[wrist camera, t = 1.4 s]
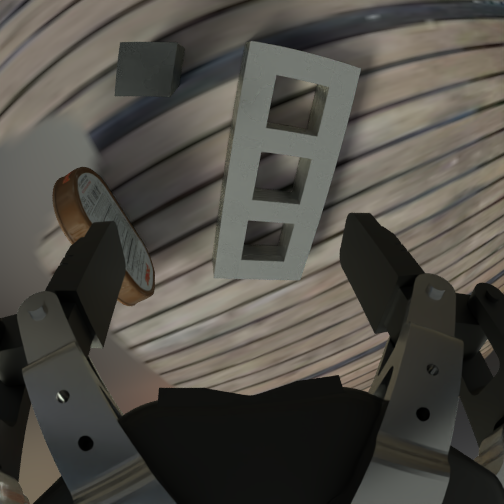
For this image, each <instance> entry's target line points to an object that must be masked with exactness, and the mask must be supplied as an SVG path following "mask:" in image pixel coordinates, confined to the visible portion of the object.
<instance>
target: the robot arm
mask: <svg viewBox="0 0 504 504" xmlns="http://www.w3.org/2000/svg"><path fill="white" fill-rule="evenodd" d="M340 263H341V266H342V269H343V270H344V272H345V274H346V276H347V278H348V280H349V282H350V284H351V286H352V288H353V290H354V292H355V294H356V296H357V298H358V300H359V302H360V304H361V306H362V308H363V310H364V312H365V314H366V316H367V318H368V321H369V323H370V325H371V327H372V329H373V331H374V333H375V334H377V333H383V332H388V333H389V335H390V336H389V338H388V340H387V343H386V345H385V349H384V352H383V355H382V358H381V361H380V363H379V366H378V369H377V372H376V375H375V377H374V380H373V383H372V385H371V387H370V389H369V391H368V392H365V391H362V390H358V389H353V388H348V387H342V384H341V381H340V378H339V375H336V376H329V377H323V378H316V379H309V380H301V381H296V382H293V383H290V384H287V385H284V386H281V387H278V388H275V389H272V390H269V391H266V392H263V393H260V394H257V395H251V396H249V395H242V394H235V393H229V392H223V391H218V390H213V389H207V388H159V395H158V400H157V401H154V402H150V403H147V404H144V405H141V406H139V407H137V408H135V409H133V410H131V411H130V412H128V413H126V414H125V415H123V413H122V412H121V410H119V408H118V406H117V404H116V403H115V401H114V400H113V398H112V396H111V395H110V393H109V391H108V390H107V388H106V386H105V385H104V383H103V381H102V380H101V378H100V376H99V374H98V372H97V370H96V368H95V367H94V365H93V363H92V361H91V359H90V358H89V356H88V355H89V351H90V348H103V347H104V343H105V339H106V336H107V332H108V329H109V325H110V322H111V318H112V315H113V311H114V308H115V305H116V302H117V298H118V295H119V292H120V289H121V286H122V283H123V280H124V277H125V271H126V263H125V257H124V253H123V249H122V245H121V241H120V237H119V233H118V228H117V225H116V223H115V222H114V221H103V222H94V223H93V224H92V225H91V227H90V228H89V230H88V231H87V233H86V235H85V236H84V237H81V238H79V239H78V240H77V241H76V242H75V243H74V244H72V245H71V246H70V248H69V250H68V251H67V253H66V255H65V257H64V258H63V260H62V261H61V263H60V266H58V268H57V270H56V272H55V273H54V275H53V277H52V279H51V281H50V282H49V284H48V286H47V288H46V290H45V291H42V292H38V293H35V294H33V295H31V296H30V297H28V298H27V299H26V300H25V301H24V302H23V303H22V304H21V306H20V307H19V309H18V312H17V314H15V315H11V316H8V317H4V318H0V504H30V503H29V500H28V498H27V497H26V496H25V495H24V494H23V491H22V488H21V486H20V484H19V483H18V482H19V472H20V463H21V455H22V448H23V442H24V435H25V430H26V425H27V420H28V415H29V410H30V406H31V404H32V407H33V409H34V412H35V415H36V418H37V421H38V423H39V426H40V429H41V431H42V434H43V436H44V439H45V441H46V443H47V446H48V448H49V450H50V452H51V455H52V457H53V459H54V461H55V463H56V465H57V467H58V470H59V472H60V473H61V477H60V478H59V479H58V480H57V481H56V482H55V483H54V484H53V485H52V486H51V487H50V488H49V489H48V490H47V491H46V492H44V493H43V494H42V495H41V496H40V497H39V498H38V499H37V500H36V501H35V502H34V503H33V504H504V295H503V293H502V292H501V291H500V290H499V289H497V288H496V287H494V286H493V285H490V284H487V283H479V284H477V285H476V286H475V288H474V290H473V292H472V294H471V295H466V294H459V293H455V290H454V288H453V287H452V285H451V284H450V283H449V282H448V281H446V280H445V279H444V278H442V277H440V276H438V275H435V274H430V273H425V272H424V271H423V270H422V268H421V267H420V266H419V265H418V263H417V262H416V261H415V259H414V258H413V257H412V256H411V254H410V253H409V252H407V249H406V248H405V247H404V246H403V244H401V242H400V241H399V239H398V238H397V237H396V236H395V235H394V234H393V233H392V232H390V231H389V230H387V229H386V228H384V227H383V226H381V225H380V224H379V223H378V222H377V220H376V219H375V218H374V217H373V216H372V215H371V214H370V213H349V214H348V216H347V219H346V224H345V229H344V234H343V238H342V243H341V248H340ZM487 339H488V340H489V342H490V343H491V345H492V347H493V349H494V350H495V352H496V354H497V356H498V358H499V361H500V368H499V371H498V373H497V374H496V376H495V377H494V378H493V376H492V374H491V372H490V370H489V368H488V366H487V364H486V362H485V360H484V358H483V356H482V354H481V353H480V351H479V350H480V349H481V347H482V346H483V345H484V343H485V342H486V340H487ZM459 397H460V399H461V401H462V403H463V406H464V409H465V411H466V414H467V416H468V419H469V421H470V424H471V427H472V429H473V432H474V435H475V437H476V440H477V443H478V446H479V456H477V457H476V458H475V459H474V460H472V459H471V458H469V457H468V456H466V455H464V454H463V453H461V452H460V451H458V450H457V449H455V448H453V447H452V446H451V445H450V443H451V439H452V434H453V429H454V424H455V419H456V413H457V406H458V400H459Z"/></svg>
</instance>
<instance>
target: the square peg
mask: <svg viewBox="0 0 504 504" xmlns="http://www.w3.org/2000/svg"><path fill="white" fill-rule="evenodd" d="M184 51H185V49H184V48H183V47H182V46H181V45H180V44H178V43H173V42H120V48H119V56H118V64H117V74H116V86H115V96H156V97H170V96H171V95H172V94H173V93H174V92H175V91H176V89H177V88H178V87H179V86H180V78H181V71H182V64H183V57H184Z"/></svg>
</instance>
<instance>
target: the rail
mask: <svg viewBox="0 0 504 504" xmlns="http://www.w3.org/2000/svg"><path fill="white" fill-rule="evenodd" d="M360 71H361V68H358V67H355V66H352V65H349V64H346V63H342V62H339V61H336V60H333V59H329V58H326V57H322V56H318V55H315V54H311V53H307V52H303V51H299V50H295V49H290V48H286V47H281V46H276V45H271V44H266V43H261V42H255V41H249V42H246V43H245V48H244V53H243V58H242V64H241V69H240V75H239V81H238V86H237V92H236V98H235V104H234V110H233V116H232V122H231V128H230V135H229V141H228V148H227V154H226V161H225V168H224V175H223V182H222V189H221V196H220V204H219V211H218V219H217V227H216V235H215V243H214V251H213V259H212V264H213V274H214V278H227V279H264V280H300V279H301V276H302V273H303V270H304V267H305V264H306V261H307V258H308V255H309V252H310V249H311V246H312V242H313V239H314V236H315V233H316V230H317V227H318V224H319V220H320V217H321V214H322V211H323V208H324V204H325V201H326V198H327V194H328V191H329V188H330V184H331V181H332V177H333V174H334V171H335V167H336V164H337V160H338V156H339V153H340V149H341V146H342V142H343V138H344V135H345V131H346V127H347V123H348V119H349V116H350V112H351V108H352V104H353V100H354V96H355V92H356V88H357V84H358V79H359V75H360ZM276 75H279V76H284V77H289V78H293V79H298V80H303V81H307V82H311V83H315V84H317V87H316V91H315V96H314V100H313V105H312V109H311V113H310V118H309V122H308V126H307V129H304V128H299V127H293V126H287V125H281V124H275V123H269V122H267V120H268V115H269V110H270V105H271V100H272V95H273V90H274V84H275V79H276ZM261 152H268V153H275V154H283V155H290V156H296V157H300V160H299V164H298V168H297V172H296V176H295V180H294V184H293V188H292V192H289V191H280V190H271V189H261V188H254V187H255V182H256V177H257V171H258V166H259V161H260V156H261ZM248 220H250V221H264V222H277V223H284V224H283V228H282V232H281V236H280V240H279V244H278V246H267V245H248V244H244V240H245V235H246V229H247V224H248Z"/></svg>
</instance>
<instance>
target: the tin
mask: <svg viewBox="0 0 504 504" xmlns="http://www.w3.org/2000/svg"><path fill="white" fill-rule="evenodd" d="M53 207H54V211H55V214H56V218H57V220H58V223H59V225H60V227H61V229H62V231H63V232H64V234H65V236H66V237H67V238H68V240H69V241H70V243H71V244H74V243H75V242H76V241H77V240H78V239H79V238H81V237H84V236H85V235H86V233H87V231H88V230H89V228H90V227H91V225H92V224H93V223H94V222H103V221H114V222H115V223H116V225H117V228H118V233H119V237H120V241H121V245H122V249H123V253H124V257H125V263H126V271H125V277H124V280H123V283H122V286H121V289H120V292H119V295H118V298H117V300H118V301H119V302H120V303H122V304H124V305H127V306H133V305H135V304H137V303H138V302H140V301H142V300H145V299H147V298H149V297H150V296H152V295H153V294H154V289H155V271H154V267H153V264H152V261H151V258H150V255H149V253H148V251H147V249H146V247H145V245H144V243H143V242H142V240H141V239H140V237H139V235H138V234H137V232H136V231H135V229H134V228H133V226H132V225H131V223H130V221H129V220H128V218H127V217H126V215H125V214H124V212H123V210H122V209H121V207H120V206H119V204H118V202H117V201H116V199H115V198H114V196H113V195H112V193H111V191H110V190H109V188H108V187H107V185H106V184H105V182H104V181H103V180H102V178H101V177H100V176H99V175H98V174H97V173H96V172H94V171H93V170H91V169H90V168H87V167H80V168H77V169H75V170H73V171H72V172H70V173H69V174H67V175H66V176H64V177H61V178H59V179H58V180H57V181H56V183H55V185H54V188H53Z"/></svg>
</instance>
